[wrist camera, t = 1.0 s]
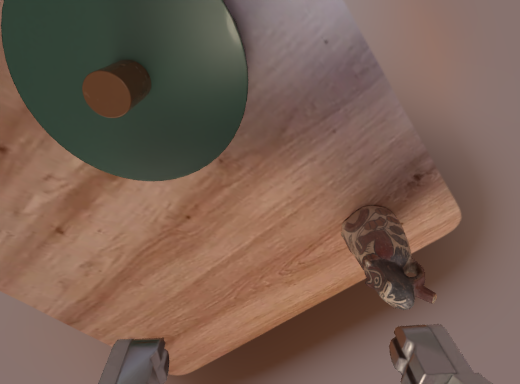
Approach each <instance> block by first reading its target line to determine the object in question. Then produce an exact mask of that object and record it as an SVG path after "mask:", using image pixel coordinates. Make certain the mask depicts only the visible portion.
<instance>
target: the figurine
mask: <svg viewBox="0 0 520 384" xmlns="http://www.w3.org/2000/svg"><path fill="white" fill-rule="evenodd" d="M341 235H342V237H343V238H344V240H345V242H346V244H347V246H348V248H349V250H350V252H351V253H352V254H353V255H354V256H355V257H356V259H357V261H358V262H359V264H360V265H361V267H362V268H363V270H364V272H365V275H366V277H367V278H366V282H365V284H366V285H367V286H369V287H371V288H372V289H374V290H376V291H377V293H378V294H379V296H380V297H381V298H382V299H383V300H384V301H386V302H387V303H388V304H390V305H392V306H393V307H395V308H399V309H403V310H406V309H410V308H411V307H412V306H413V305H414V299H415V297H418V298H420V299H423V300H425V301H427V302H429V303H434V302H435V300H436V293H434V292H433V291H431V290H429V289H428V288H426V287H424V283H425V272H424V269H423V268H422V267H421V265H420V264H418V263H417V262H416V261H415V260H414V259H413V258H412V257H411V250H410V247H409V243H408V240H407V238H406V235H405V233H404V230H403V228H402V225H401V224H400V222H399V221H398V219H397V218H396V216H395V215H394V214H393V213H392V212H390V211H389V210H388V209H386V208H383V207H378V206H366V207H363V208H361V209H360V210H358V211H356V212H355V213H353V214H352V215H351V216H350V217H349V218H348V219H347V220H346V221H344V222H343V224H342V232H341ZM408 272H413V273H415V274H416V275H417V276H415V277H408V276H406V274H407V273H408Z"/></svg>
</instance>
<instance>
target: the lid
mask: <svg viewBox="0 0 520 384" xmlns="http://www.w3.org/2000/svg"><path fill="white" fill-rule="evenodd" d="M1 29H2V43H3V48H4V53H5V58H6V62H7V65H8V68H9V71H10V74H11V77H12V79H13V81H14V84H15V86H16V88H17V90H18V92H19V94H20V96H21V98H22V99H23V101H24V103H25V104H26V106H27V108H28V109H29V111H30V112H31V113H32V115H33V116H34V117H35V119H36V120H37V121H38V123H39V124H40V125H41V126H42V127H43V128H44V129H45V130H46V132H47V133H48V134H49V135H50V136H51V137H52V138H54V139H55V140H56V141H57V142H58V143H59V144H60V145H61V146H63V147H64V148H65V149H66V150H68V151H69V152H70V153H71V154H73V155H75V156H76V157H78V158H79V159H81V160H82V161H84V162H86V163H88V164H89V165H91V166H93V167H95V168H97V169H100V170H102V171H105V172H107V173H110V174H113V175H116V176H119V177H123V178H128V179H133V180H141V181H164V180H171V179H176V178H180V177H183V176H187V175H189V174H191V173H194V172H196V171H198V170H200V169H202V168H203V167H205V166H207V165H208V164H209V163H211V162H212V161H213V160H214V159H216V158H217V157H218V156H219V155H220V154H221V153H222V152H223V151H224V150H225V149H226V147H227V146H228V145H229V143H230V142H231V140H232V139H233V138H234V136H235V134H236V132H237V130H238V128H239V126H240V123H241V120H242V118H243V115H244V111H245V106H246V102H247V93H248V67H247V61H246V55H245V50H244V46H243V43H242V40H241V36H240V33H239V31H238V28H237V26H236V24H235V22H234V19H233V17H232V15H231V13H230V12H229V10H228V8H227V6H226V5H225V3H224V1H223V0H4V3H3V8H2V22H1Z"/></svg>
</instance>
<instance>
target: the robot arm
mask: <svg viewBox="0 0 520 384" xmlns="http://www.w3.org/2000/svg"><path fill="white" fill-rule="evenodd" d="M394 334H395V335H396V337H395V338H393V339H392V340H391V342H390V345H389V348H390V356H391V360H392V362H393V365H394V367H395V369H396V370H397V371H398V372H400V373H401V374H402V378H401V384H493V383H491V382H490V381H488V380H487V379H486V378H485V377H483V376H482V375H481V374H479V373H474V372H473V371H472V369H471V367H470V366H469V364H468V363H467V361H466V360H465V358H464V357H463V355H462V354H461V352H460V351H459V349H458V347H457V346H456V344H455V343H454V341H453V340H452V338H451V337H450V335H449V333H448V332H447V330H446V329H445V328H444V327H443V326H442V325H439V324H434V325H413V326H400V327H397V328H395V331H394ZM164 347H165V341H164V338H145V339H119V340H117V341H116V343H115V344H114V345H113V348H112V350H111V353H110V355H109V358H108V361H107V363H106V365H105V368H104V370H103V373H102V375H101V378H100V380H99V383H98V384H164V383H165V381H166V380H167V376H168V371H169V354H168V351H167V350H166V349H164Z"/></svg>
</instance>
